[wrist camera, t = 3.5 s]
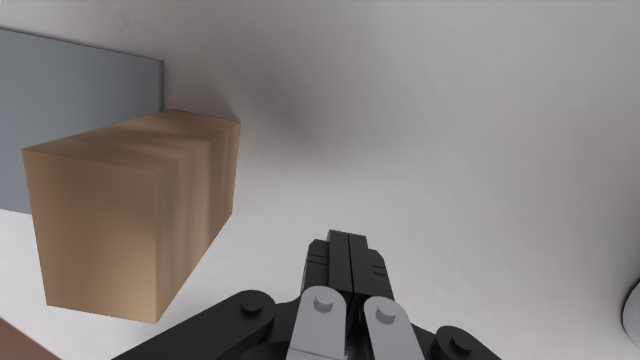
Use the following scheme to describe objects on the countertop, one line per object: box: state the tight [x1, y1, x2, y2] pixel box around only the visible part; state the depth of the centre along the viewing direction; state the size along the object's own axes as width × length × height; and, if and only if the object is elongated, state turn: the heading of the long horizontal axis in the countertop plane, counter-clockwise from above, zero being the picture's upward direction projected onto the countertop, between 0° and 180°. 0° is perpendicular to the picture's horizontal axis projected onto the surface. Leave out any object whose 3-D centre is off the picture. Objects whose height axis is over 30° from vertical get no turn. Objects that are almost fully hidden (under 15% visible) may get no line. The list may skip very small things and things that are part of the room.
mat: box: [0, 29, 163, 214], centre depth 18 cm, size 11×11×1 cm
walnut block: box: [21, 109, 240, 324], centre depth 14 cm, size 4×6×9 cm, turn 169°
